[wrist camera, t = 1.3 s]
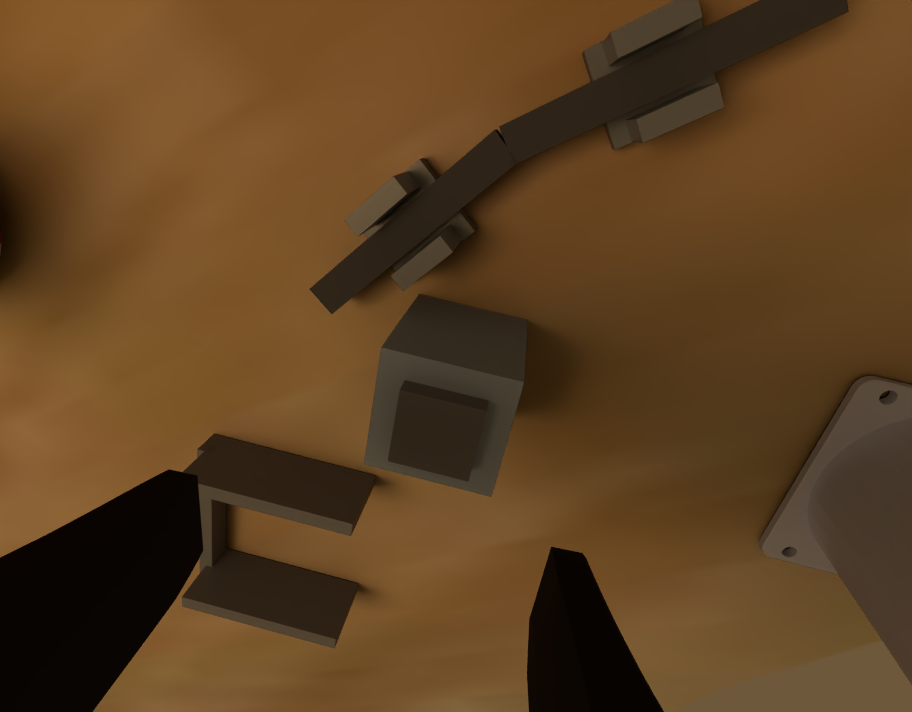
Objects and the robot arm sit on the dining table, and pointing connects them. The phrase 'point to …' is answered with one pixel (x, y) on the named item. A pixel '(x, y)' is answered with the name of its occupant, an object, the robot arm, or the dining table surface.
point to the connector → (447, 394)
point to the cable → (573, 127)
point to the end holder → (261, 580)
